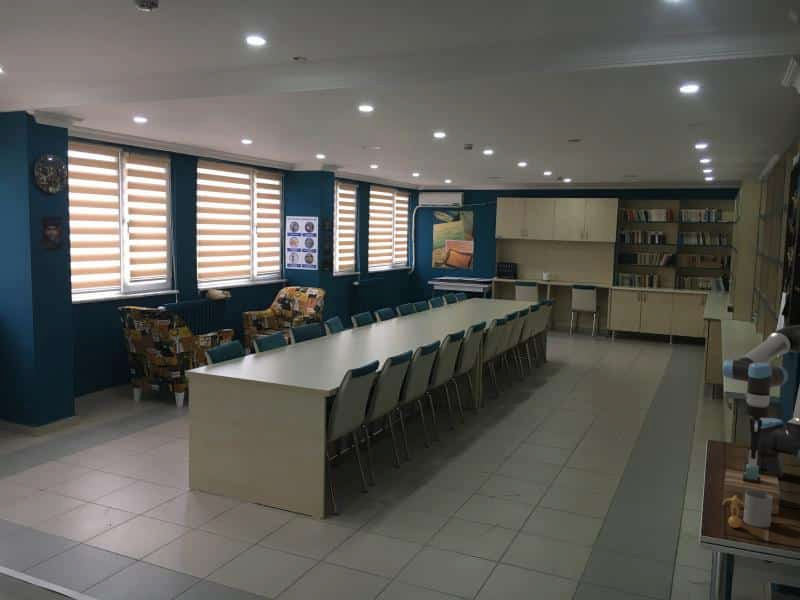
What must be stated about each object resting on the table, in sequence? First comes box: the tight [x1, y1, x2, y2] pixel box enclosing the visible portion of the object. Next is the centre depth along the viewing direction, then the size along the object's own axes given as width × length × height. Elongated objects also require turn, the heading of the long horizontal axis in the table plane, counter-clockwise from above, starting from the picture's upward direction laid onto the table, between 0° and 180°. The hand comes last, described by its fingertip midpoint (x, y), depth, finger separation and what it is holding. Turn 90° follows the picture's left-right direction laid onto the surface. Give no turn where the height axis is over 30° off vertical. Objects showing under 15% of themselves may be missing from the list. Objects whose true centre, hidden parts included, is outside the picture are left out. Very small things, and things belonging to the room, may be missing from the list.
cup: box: [742, 490, 773, 528], centre depth 234 cm, size 8×8×10 cm
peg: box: [746, 464, 759, 480], centre depth 253 cm, size 4×4×8 cm
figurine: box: [721, 495, 749, 529], centre depth 229 cm, size 8×6×12 cm
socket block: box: [722, 468, 781, 515], centre depth 253 cm, size 18×18×9 cm
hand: (752, 466), depth 252 cm, fingers closed
